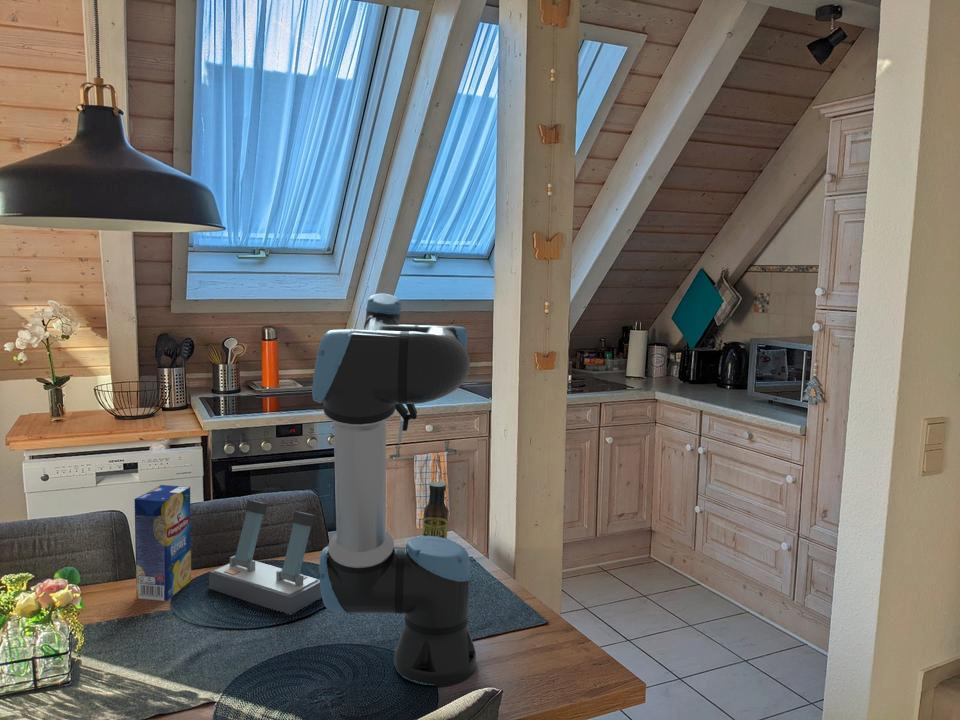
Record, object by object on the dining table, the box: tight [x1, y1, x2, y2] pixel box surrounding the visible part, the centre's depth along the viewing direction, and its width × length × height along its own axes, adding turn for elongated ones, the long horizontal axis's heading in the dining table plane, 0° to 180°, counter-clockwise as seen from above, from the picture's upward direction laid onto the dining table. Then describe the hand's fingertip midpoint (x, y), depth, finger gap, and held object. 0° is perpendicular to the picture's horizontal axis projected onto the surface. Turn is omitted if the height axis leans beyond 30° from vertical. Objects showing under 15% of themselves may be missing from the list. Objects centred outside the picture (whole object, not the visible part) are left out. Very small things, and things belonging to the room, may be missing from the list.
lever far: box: [234, 499, 269, 568], centre depth 173 cm, size 4×2×14 cm, turn 61°
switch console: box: [208, 554, 322, 616], centre depth 169 cm, size 24×10×6 cm, turn 61°
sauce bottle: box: [421, 481, 449, 539], centre depth 190 cm, size 6×6×20 cm
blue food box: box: [133, 484, 192, 602], centre depth 168 cm, size 7×11×22 cm, turn 173°
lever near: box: [281, 511, 316, 582], centre depth 166 cm, size 4×2×14 cm, turn 61°
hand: (371, 438), depth 183 cm, fingers open, 13 cm apart
